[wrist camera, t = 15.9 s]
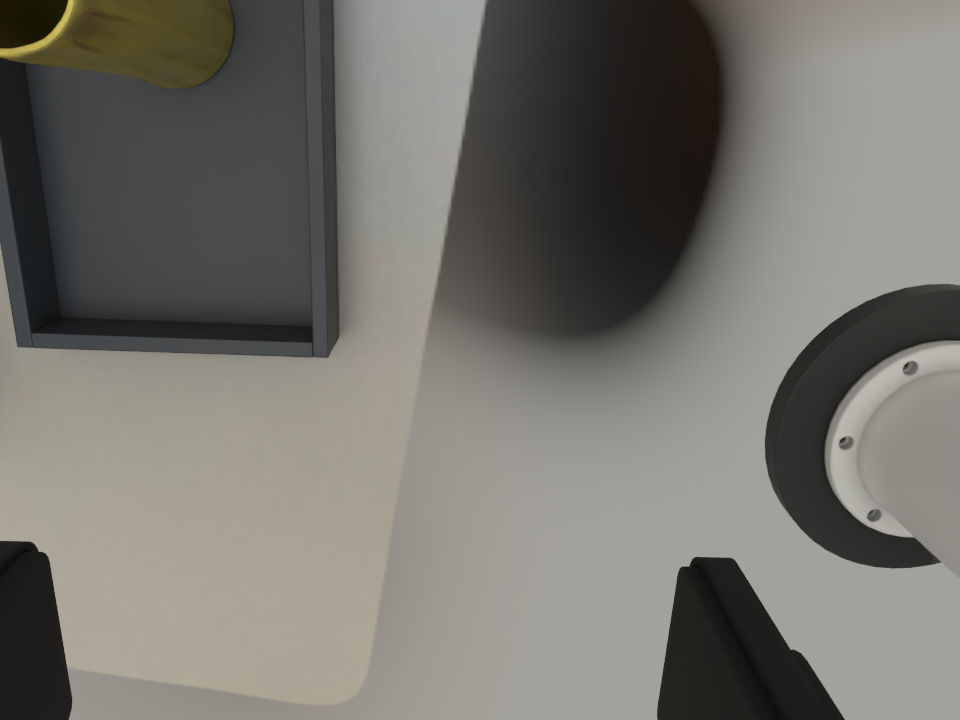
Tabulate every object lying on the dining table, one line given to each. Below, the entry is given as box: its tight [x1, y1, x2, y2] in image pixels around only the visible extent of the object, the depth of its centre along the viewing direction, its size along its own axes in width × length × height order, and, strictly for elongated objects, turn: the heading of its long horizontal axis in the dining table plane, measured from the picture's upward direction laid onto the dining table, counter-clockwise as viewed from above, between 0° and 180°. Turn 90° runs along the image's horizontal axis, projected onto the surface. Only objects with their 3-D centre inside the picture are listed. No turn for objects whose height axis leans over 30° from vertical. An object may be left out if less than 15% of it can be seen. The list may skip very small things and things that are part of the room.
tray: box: [0, 0, 339, 358], centre depth 35 cm, size 16×22×4 cm
